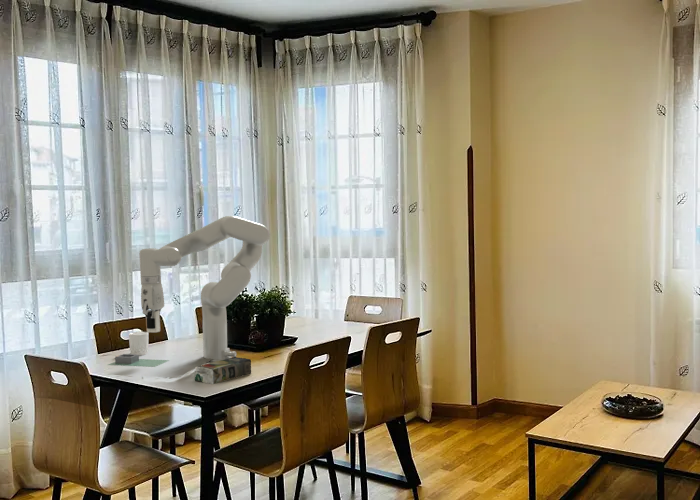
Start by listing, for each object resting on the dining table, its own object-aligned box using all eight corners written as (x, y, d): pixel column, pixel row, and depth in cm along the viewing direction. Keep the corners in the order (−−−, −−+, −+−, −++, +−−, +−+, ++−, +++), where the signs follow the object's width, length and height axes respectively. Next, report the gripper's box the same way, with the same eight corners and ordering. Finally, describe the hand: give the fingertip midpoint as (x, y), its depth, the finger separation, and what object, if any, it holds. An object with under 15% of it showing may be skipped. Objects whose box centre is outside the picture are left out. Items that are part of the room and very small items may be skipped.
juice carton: (211, 385, 242) (211, 368, 242) (192, 382, 248) (191, 364, 248) (252, 375, 258) (252, 358, 258) (233, 372, 264) (233, 355, 264)
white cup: (143, 359, 286) (142, 335, 286) (125, 358, 288) (125, 334, 287) (152, 355, 294) (151, 332, 293) (135, 355, 295) (134, 331, 295)
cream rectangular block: (160, 331, 272) (159, 310, 272) (156, 332, 269) (155, 311, 269) (150, 330, 273) (149, 310, 273) (146, 332, 270) (145, 311, 270)
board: (169, 364, 277) (169, 354, 276) (154, 370, 265) (154, 360, 265) (124, 362, 281) (123, 352, 281) (107, 368, 270) (107, 358, 269)
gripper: (149, 282, 261) (151, 331, 262) (169, 278, 277) (172, 324, 278) (130, 283, 263) (133, 331, 264) (152, 278, 279) (155, 324, 280)
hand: (153, 327), depth 271 cm, fingers closed on cream rectangular block, 3 cm apart
